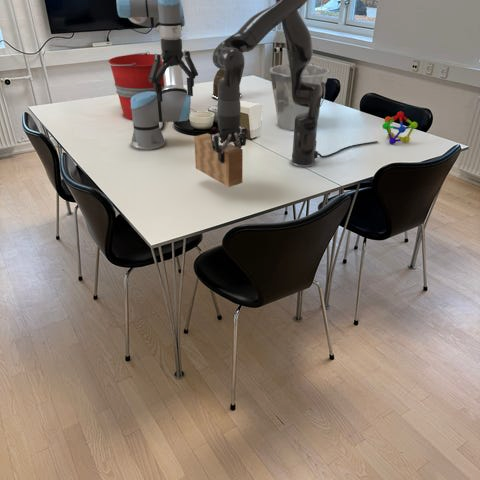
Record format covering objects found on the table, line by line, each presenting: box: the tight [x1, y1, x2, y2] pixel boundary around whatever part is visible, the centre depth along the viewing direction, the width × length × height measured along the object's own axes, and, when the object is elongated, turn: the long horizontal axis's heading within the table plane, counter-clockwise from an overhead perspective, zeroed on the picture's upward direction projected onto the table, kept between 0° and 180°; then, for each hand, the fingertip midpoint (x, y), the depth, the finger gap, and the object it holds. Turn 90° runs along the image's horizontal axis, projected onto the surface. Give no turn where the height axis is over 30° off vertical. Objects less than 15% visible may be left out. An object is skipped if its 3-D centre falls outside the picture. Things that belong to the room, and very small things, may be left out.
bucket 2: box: [269, 64, 330, 131], centre depth 226 cm, size 30×30×28 cm
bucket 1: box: [105, 51, 164, 121], centre depth 241 cm, size 35×35×30 cm
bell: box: [212, 68, 242, 97], centre depth 278 cm, size 19×26×20 cm
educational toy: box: [382, 110, 418, 145], centre depth 207 cm, size 16×13×15 cm
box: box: [193, 132, 244, 188], centre depth 159 cm, size 21×6×12 cm, turn 38°
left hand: (175, 98), depth 171 cm, fingers open, 13 cm apart
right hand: (229, 160), depth 153 cm, fingers closed on box, 6 cm apart
